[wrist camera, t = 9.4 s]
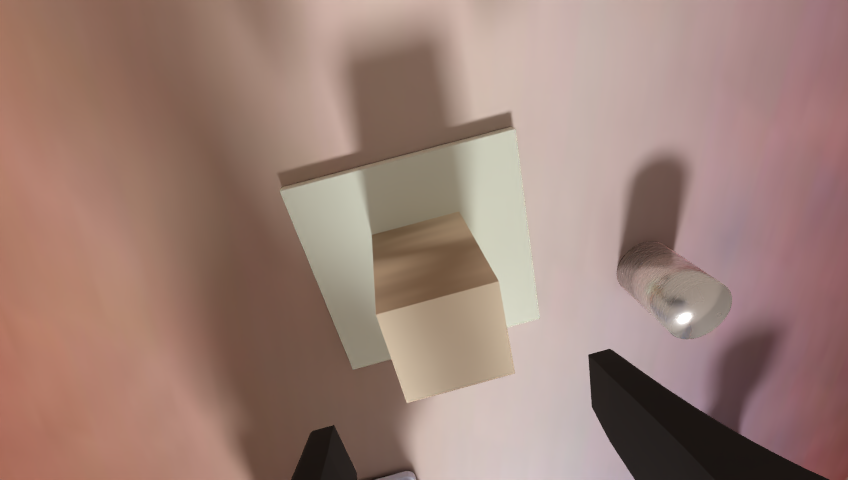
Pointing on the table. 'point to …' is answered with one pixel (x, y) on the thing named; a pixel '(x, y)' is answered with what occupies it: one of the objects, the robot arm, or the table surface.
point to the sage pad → (407, 204)
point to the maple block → (439, 307)
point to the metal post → (674, 290)
